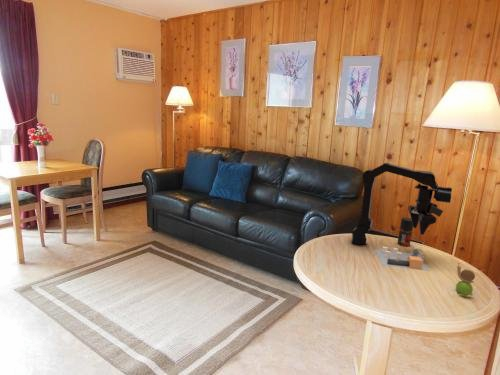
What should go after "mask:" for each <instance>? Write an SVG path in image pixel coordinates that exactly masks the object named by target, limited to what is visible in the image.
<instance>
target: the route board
mask: <svg viewBox="0 0 500 375" xmlns="http://www.w3.org/2000/svg"><path fill="white" fill-rule="evenodd" d="M389 251H390V250H389ZM374 252H375V253H376V256H377V258H378V260H379V261H380V263H381V265H382V266H387V267H396V268H403V269H412V270H417V269H416V268H409V266H404V265H395V264H388V263H387V259H396V255H393V250H391V251H390V258H385V257H384V256H385V254H384V253H382V249H374ZM401 253H402V255H401V260H404V261H407V260H408V256H412V253H410V252H401ZM396 260H400V259H396ZM418 270H420V271H429V272H430V271H431V269H430V268H429V267H428V265H427V264H425V262H424V261H423V264H422V269H418Z"/></svg>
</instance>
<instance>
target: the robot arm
mask: <svg viewBox="0 0 500 375" xmlns="http://www.w3.org/2000/svg"><path fill="white" fill-rule="evenodd" d="M384 173H390V174H395V175H397V176H401V177H406V178H409V179H412V180H413V181H416V182H418V184H416V185H415V186H414V189H417V190H418V193H417V198H416V199H415V200H414V201H415V202H416V204H415V205H413V204H409V206H408V207H407V208H408V209H407V211H408V214H409V216H410V217H409V218H411V220H412V224H413V229H417V227H419V232H420V233H419V234H420V235H422V236H423V235H424V234H425V233H426V231H427V229H428V228H429V227H430V225H433V224H436V223H437V218H436V216H437V217H439V218H440V217H441V216H442V214H443V213H444V210H442V209H441V208H440V207H438V204H436V203H435V202H441V203H446V204H447V203H448V204H450V203H451V200H452V192H453V191H452V190H453V188H452V187H445V186H439V185H438V184H439V183H437V181H436V176H435V174H434V172H432V171H430V170H429V171H427V170H418V169H417V170H416V169H415V170H414V169H411V168H407V167H403V166H400V165H396V164H392V163H390V162H385V163H383V164H381V165H379V166H377V167H374V168H368V169H366V170H365V171H363V174H362V184H363V195H362V196H363V197H362V206H361V214H360V218H359V220H358V223H357V226H355V227H354V228H353V229H352V231H351V240H350V242H351V244H352V245H355V246H358V247H359V246H366V244H367V240H368V239H367V235H366V234H368V233H369V231H370V230H371V229H372V227H373V220H374V218H373V217H371V208H372V199H373V198H372V197H373V188H374V186H375V183H376V180H377V177H378V176H380V175H382V174H384ZM433 192H434V193H433ZM432 199H434V200H435V202H432ZM433 214H434V215H433Z"/></svg>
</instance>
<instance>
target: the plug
mask: <svg viewBox="0 0 500 375" xmlns="http://www.w3.org/2000/svg"><path fill="white" fill-rule="evenodd" d="M423 262H424V260H422V259H421V258H420V257H416V256H408V260H407V261H404V260H396V259H387V263H388V264H395V265H404V266H409V268H408V269H411V268H416V269H415V270H419V269H422V264H423Z"/></svg>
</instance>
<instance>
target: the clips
mask: <svg viewBox="0 0 500 375" xmlns="http://www.w3.org/2000/svg"><path fill="white" fill-rule="evenodd" d="M388 248H389V247H387V246H382V249H381V250H382V253H384V254H385V256H384V257H385V258H390V250H388ZM392 251H393V255H396V259H400V260H401V255H402V253H403V252H400V251H399V248H398V247H393V250H392Z"/></svg>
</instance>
